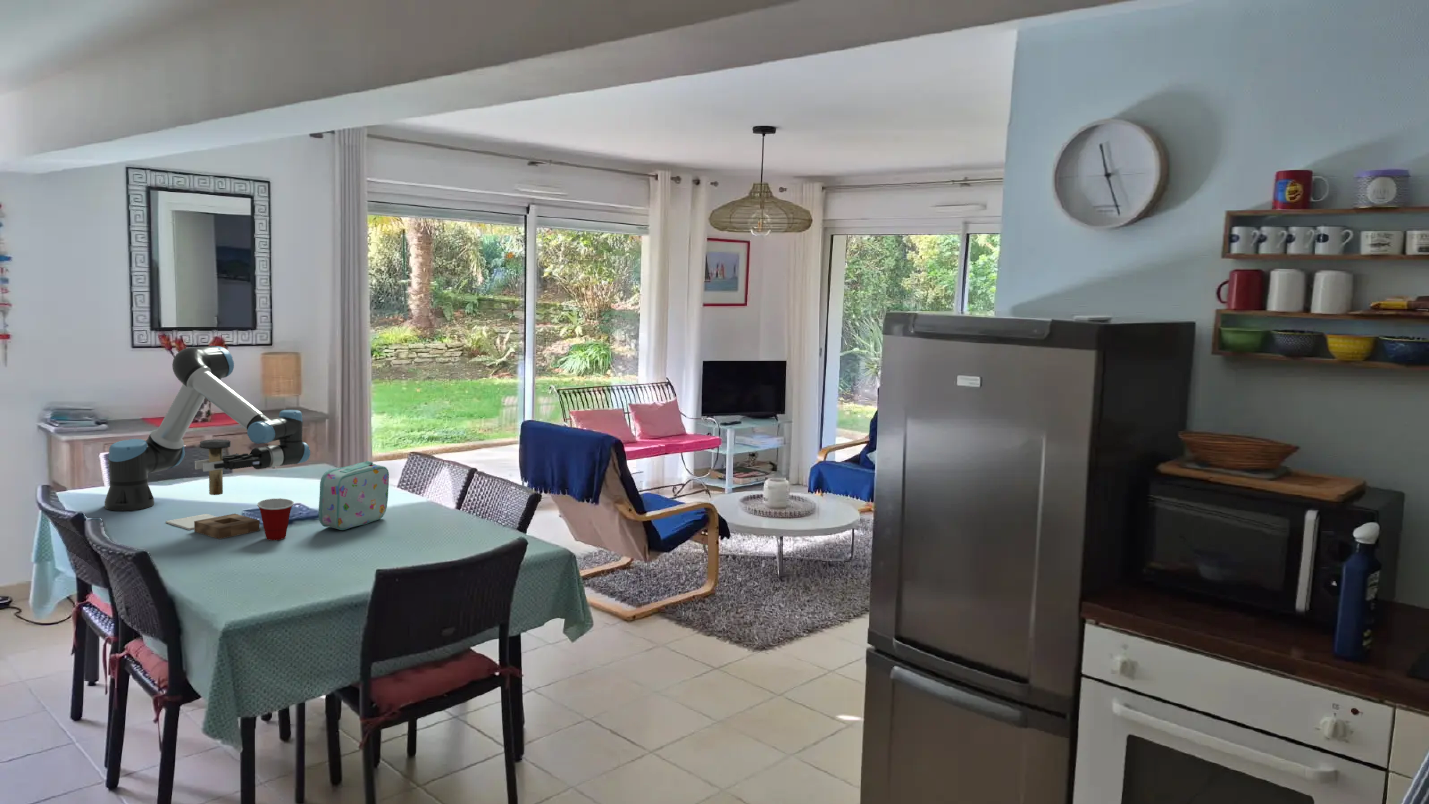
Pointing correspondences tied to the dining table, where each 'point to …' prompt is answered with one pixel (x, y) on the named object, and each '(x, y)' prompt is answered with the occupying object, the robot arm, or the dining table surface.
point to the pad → (189, 521)
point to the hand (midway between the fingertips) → (199, 466)
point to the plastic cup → (275, 517)
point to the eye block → (226, 526)
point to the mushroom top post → (215, 455)
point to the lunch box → (353, 495)
